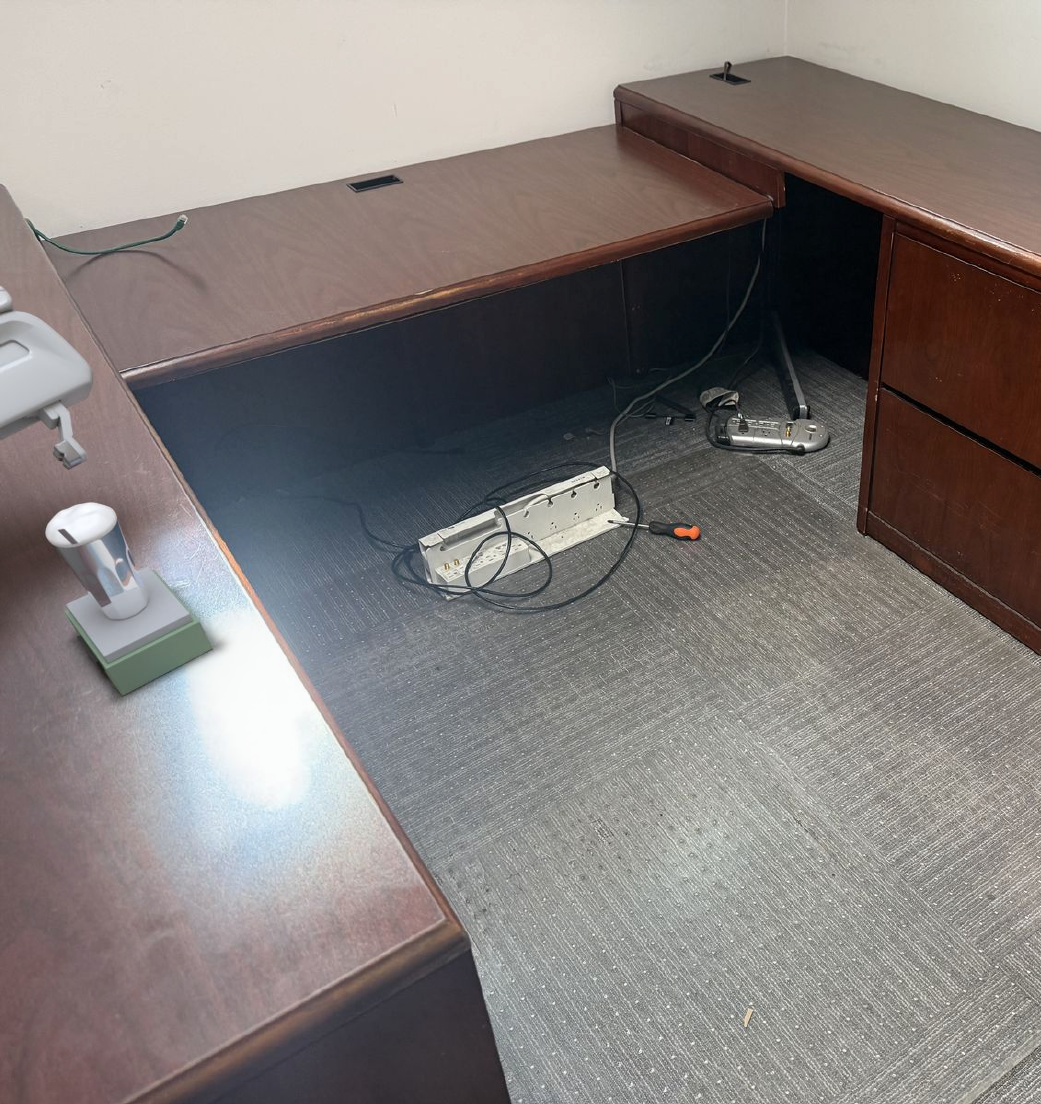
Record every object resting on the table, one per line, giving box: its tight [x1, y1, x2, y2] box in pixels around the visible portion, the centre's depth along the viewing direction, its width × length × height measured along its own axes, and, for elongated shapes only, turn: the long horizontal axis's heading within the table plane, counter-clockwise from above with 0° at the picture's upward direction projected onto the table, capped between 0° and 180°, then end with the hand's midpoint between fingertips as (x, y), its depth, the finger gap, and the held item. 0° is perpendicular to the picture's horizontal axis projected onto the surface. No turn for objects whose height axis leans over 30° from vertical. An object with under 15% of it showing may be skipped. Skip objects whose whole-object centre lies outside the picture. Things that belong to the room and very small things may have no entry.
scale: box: [64, 565, 214, 696], centre depth 79 cm, size 7×9×4 cm
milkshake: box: [45, 501, 149, 620], centre depth 75 cm, size 4×5×10 cm
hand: (20, 493), depth 77 cm, fingers open, 8 cm apart
